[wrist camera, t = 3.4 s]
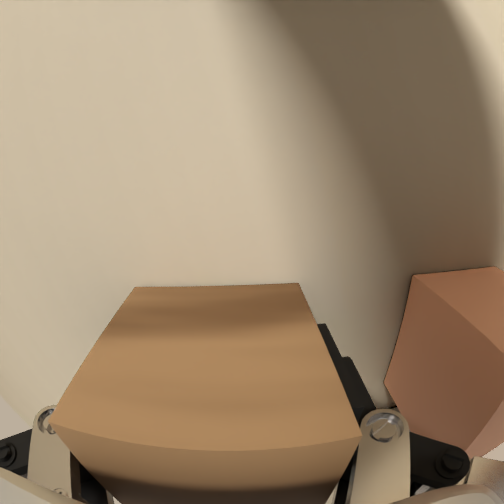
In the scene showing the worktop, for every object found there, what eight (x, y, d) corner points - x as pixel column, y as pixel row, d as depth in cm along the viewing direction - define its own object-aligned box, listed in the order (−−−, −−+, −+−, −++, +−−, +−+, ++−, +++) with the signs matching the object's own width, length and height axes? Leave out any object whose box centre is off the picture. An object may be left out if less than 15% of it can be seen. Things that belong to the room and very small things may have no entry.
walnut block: (135, 287, 9) (47, 421, 3) (298, 282, 9) (362, 435, 4) (163, 398, 11) (136, 516, 5) (289, 397, 11) (313, 520, 5)
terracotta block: (412, 274, 9) (520, 370, 4) (494, 266, 10) (581, 324, 4) (383, 382, 11) (436, 482, 5) (463, 359, 11) (520, 428, 6)
